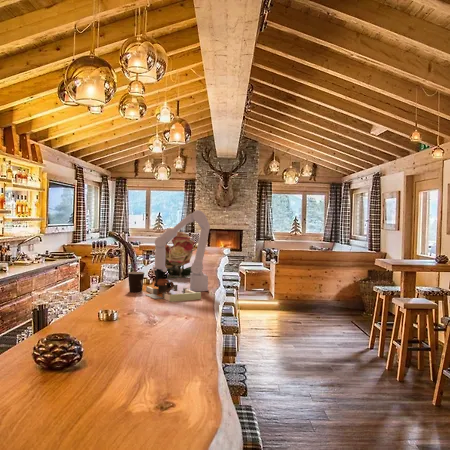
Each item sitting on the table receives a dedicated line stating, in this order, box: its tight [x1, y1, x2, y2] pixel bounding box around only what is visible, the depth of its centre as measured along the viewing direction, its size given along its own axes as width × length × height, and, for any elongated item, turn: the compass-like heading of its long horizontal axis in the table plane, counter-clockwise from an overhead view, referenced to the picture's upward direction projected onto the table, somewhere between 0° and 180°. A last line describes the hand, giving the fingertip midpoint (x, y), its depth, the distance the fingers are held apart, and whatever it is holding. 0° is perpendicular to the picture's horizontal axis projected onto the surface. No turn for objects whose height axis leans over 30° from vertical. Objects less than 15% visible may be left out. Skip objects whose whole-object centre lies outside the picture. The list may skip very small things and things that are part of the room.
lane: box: [145, 284, 202, 303], centre depth 229 cm, size 24×31×3 cm
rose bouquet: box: [153, 230, 197, 279], centre depth 297 cm, size 26×29×30 cm
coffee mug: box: [127, 271, 145, 294], centre depth 237 cm, size 12×9×10 cm
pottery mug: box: [153, 278, 175, 294], centre depth 236 cm, size 12×10×8 cm
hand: (159, 283), depth 244 cm, fingers closed
